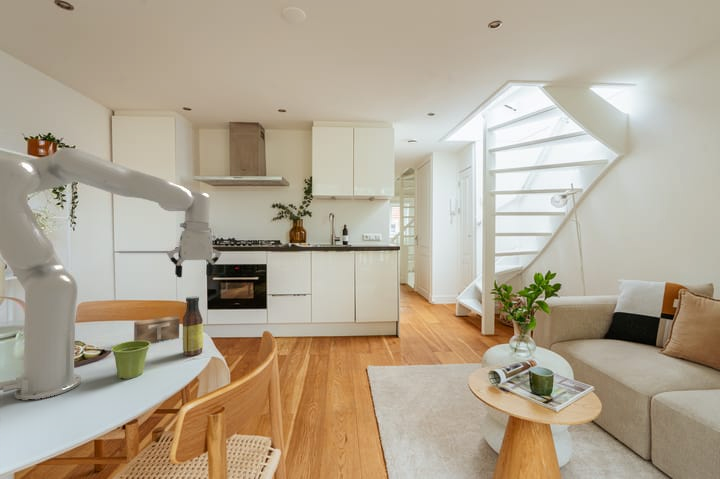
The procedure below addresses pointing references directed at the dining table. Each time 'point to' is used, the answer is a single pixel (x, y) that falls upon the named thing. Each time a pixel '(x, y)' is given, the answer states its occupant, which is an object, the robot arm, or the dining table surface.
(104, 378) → the dining table surface
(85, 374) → the dining table surface
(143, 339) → the letter block
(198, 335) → the sauce bottle
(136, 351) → the plant pot
